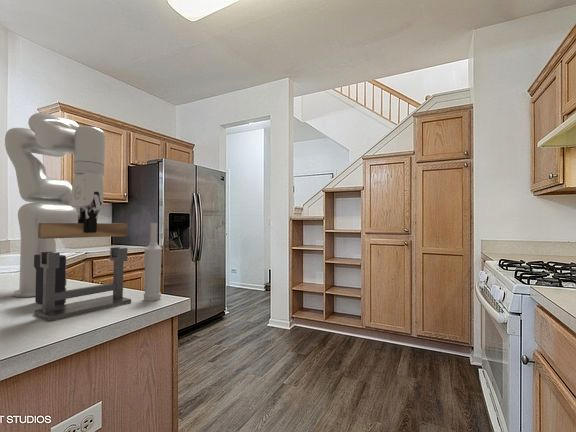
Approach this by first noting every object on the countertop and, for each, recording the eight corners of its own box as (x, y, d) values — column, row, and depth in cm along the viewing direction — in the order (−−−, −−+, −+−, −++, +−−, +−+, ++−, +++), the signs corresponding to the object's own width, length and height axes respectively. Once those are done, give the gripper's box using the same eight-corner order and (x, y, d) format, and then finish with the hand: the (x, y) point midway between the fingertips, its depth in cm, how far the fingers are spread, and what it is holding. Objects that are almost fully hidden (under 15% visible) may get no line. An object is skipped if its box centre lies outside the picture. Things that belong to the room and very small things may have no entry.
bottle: (154, 301, 94) (155, 223, 95) (139, 300, 95) (141, 222, 96) (164, 297, 100) (165, 223, 100) (150, 296, 101) (151, 222, 101)
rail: (37, 238, 79) (38, 223, 79) (121, 235, 97) (122, 223, 97) (42, 238, 77) (42, 223, 77) (126, 236, 96) (127, 223, 96)
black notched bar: (67, 304, 90) (68, 255, 90) (51, 308, 86) (52, 256, 87) (49, 300, 95) (50, 253, 96) (32, 303, 91) (33, 254, 92)
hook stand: (34, 314, 80) (35, 251, 81) (114, 298, 98) (115, 246, 98) (48, 321, 75) (50, 254, 75) (131, 303, 93) (132, 248, 93)
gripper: (62, 169, 89) (60, 231, 89) (88, 165, 80) (85, 234, 80) (90, 173, 95) (88, 230, 95) (116, 169, 86) (114, 233, 86)
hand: (87, 231), depth 87 cm, fingers closed on rail, 3 cm apart
